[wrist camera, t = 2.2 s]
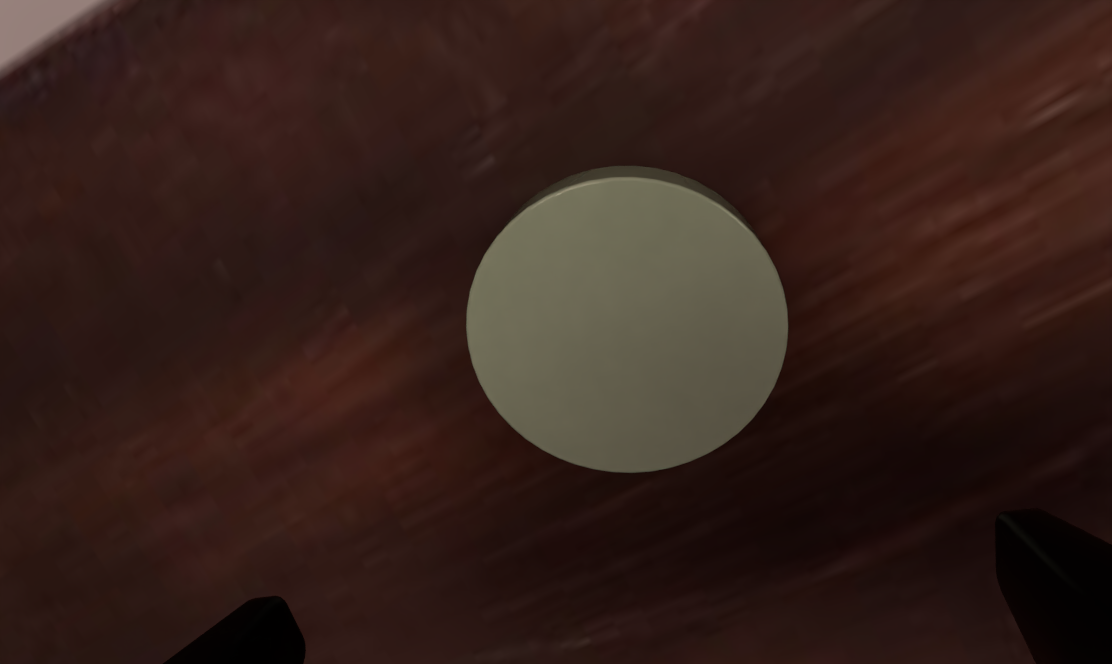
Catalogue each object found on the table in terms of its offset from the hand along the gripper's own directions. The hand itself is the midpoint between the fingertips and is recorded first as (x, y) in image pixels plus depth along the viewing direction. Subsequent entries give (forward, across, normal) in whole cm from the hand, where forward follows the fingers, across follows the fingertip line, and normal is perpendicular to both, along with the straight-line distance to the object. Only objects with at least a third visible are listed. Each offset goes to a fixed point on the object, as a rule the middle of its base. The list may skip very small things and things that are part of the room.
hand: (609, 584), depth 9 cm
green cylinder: (+9, 0, 0) cm, 9 cm away
